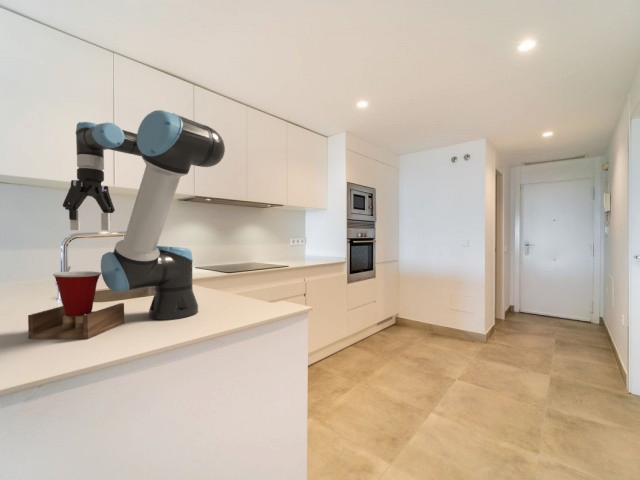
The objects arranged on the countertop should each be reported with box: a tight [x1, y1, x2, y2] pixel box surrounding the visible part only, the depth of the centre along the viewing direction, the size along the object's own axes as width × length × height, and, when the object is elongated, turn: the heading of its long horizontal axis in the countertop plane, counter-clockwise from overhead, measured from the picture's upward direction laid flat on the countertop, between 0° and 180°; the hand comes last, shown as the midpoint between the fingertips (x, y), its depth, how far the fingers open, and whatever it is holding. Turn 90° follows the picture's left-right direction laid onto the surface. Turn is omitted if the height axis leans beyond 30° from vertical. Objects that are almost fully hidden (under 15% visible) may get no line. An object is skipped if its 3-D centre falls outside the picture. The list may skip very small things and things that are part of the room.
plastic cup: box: [52, 270, 102, 316], centre depth 86 cm, size 11×11×12 cm
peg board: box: [27, 302, 125, 340], centre depth 86 cm, size 16×14×6 cm
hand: (91, 230), depth 105 cm, fingers open, 13 cm apart
